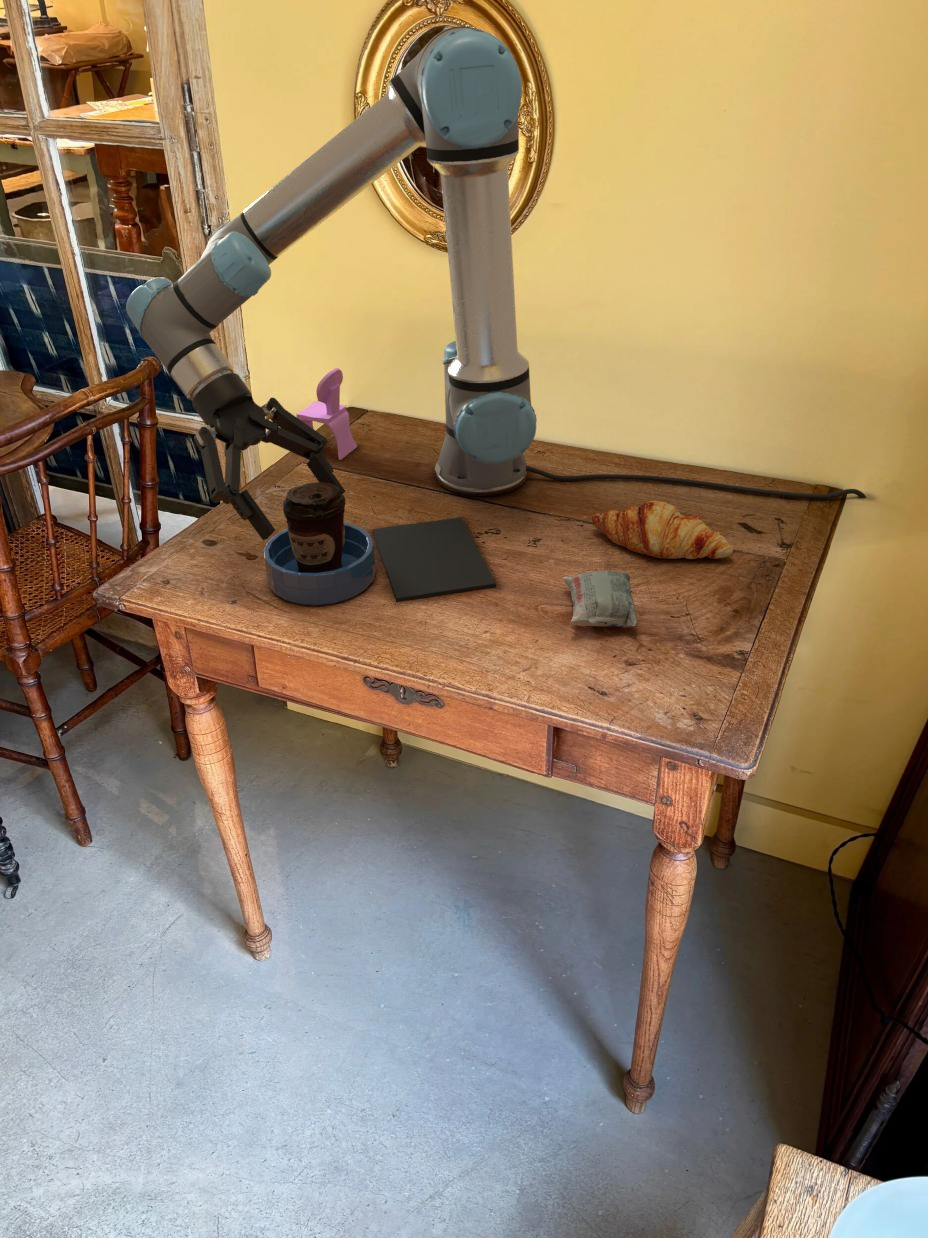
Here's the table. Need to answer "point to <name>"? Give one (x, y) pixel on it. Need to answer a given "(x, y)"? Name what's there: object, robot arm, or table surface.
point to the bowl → (324, 584)
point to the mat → (431, 559)
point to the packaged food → (602, 599)
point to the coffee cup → (316, 526)
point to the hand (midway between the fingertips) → (305, 515)
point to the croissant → (661, 532)
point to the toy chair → (331, 412)
